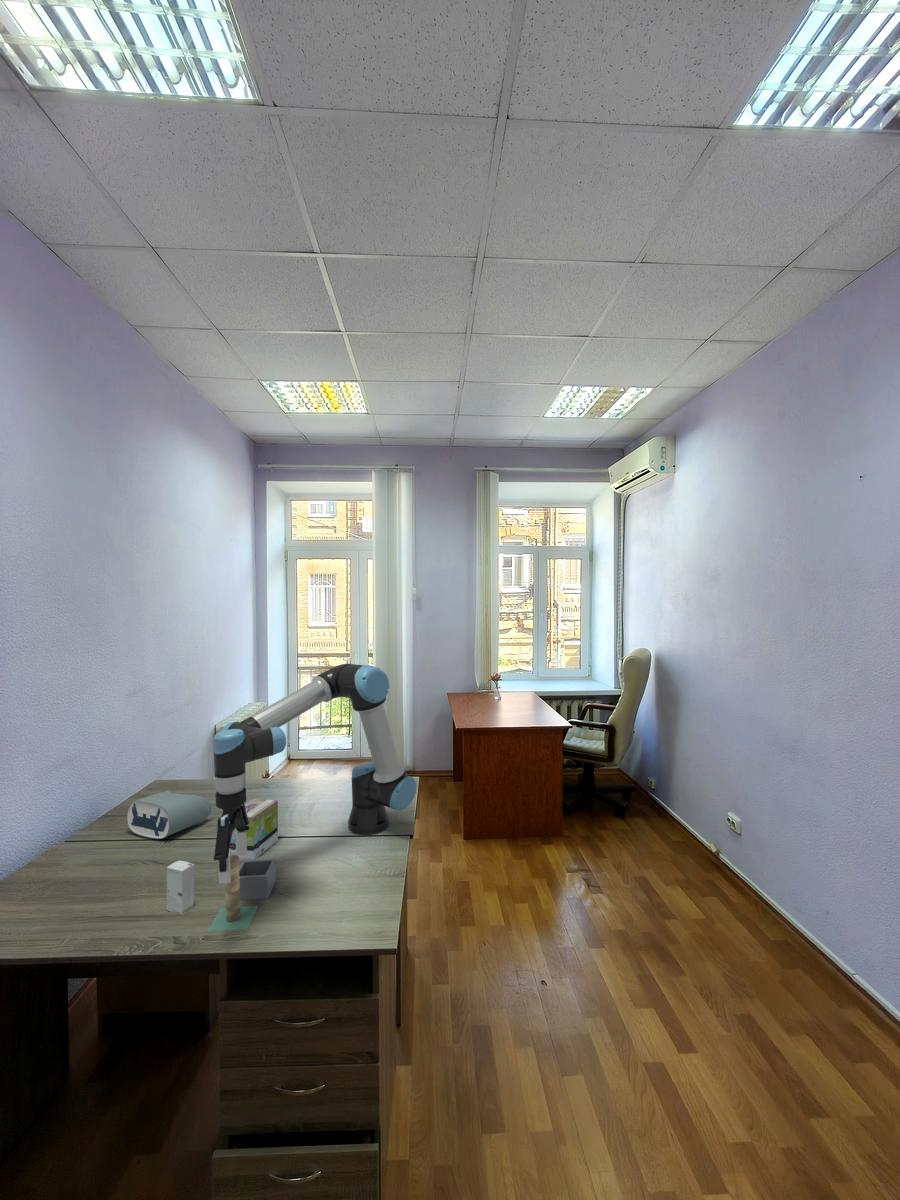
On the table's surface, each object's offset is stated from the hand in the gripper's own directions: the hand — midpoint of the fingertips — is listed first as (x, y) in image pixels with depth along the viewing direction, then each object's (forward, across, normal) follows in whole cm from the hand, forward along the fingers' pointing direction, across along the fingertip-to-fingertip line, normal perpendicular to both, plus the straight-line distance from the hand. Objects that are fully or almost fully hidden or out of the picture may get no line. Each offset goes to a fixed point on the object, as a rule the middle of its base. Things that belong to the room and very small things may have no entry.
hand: (233, 868), depth 139 cm
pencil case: (+14, -60, -43) cm, 76 cm away
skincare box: (+14, -7, -17) cm, 23 cm away
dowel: (+13, 0, 0) cm, 13 cm away
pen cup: (+14, -13, +2) cm, 19 cm away
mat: (+14, 0, 0) cm, 14 cm away
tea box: (+14, -39, -6) cm, 42 cm away
